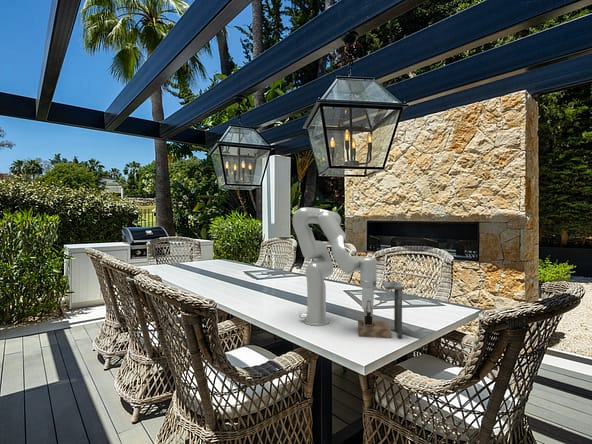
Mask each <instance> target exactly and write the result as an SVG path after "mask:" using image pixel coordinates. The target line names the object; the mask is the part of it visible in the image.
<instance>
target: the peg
mask: <svg viewBox="0 0 592 444" xmlns="http://www.w3.org/2000/svg"><path fill="white" fill-rule="evenodd" d="M366 309H367V308H366ZM370 309H371V308H370ZM363 320H364V326H373V321H374V309H373V310H372V325H366V324H365V309H364V310H363Z"/></svg>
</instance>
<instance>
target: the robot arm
mask: <svg viewBox="0 0 592 444" xmlns="http://www.w3.org/2000/svg"><path fill="white" fill-rule="evenodd" d="M341 223H342V218H341V216H340V214H339V213H337V212H336V211H331V210H327V209H323V208H319V207H307V206H306V207H305V206H304V207H300V208H299V209H297V210H296V211H295V212H294V214H293V216H292V226H293V230H294V232H295V235H296V237H297V240H298V244H299V247H300V250H301V253H302V256H303V258H304V259H306V260H313V261H311V262H310V263H308V264H307V266H306V268H305V278H306V289H307V290H306V292H307V293H306V294H307V296H306V297H307V298H306V301H307V302H306V303H307V304H306V305H307V306H306V307H307V312H305V313H301V312H300V313H299V312H298V313H299V314H298V317H299V318H300V319H304V320H303V321H304V322H303V323H304V324H306V325H308V326H314V327H322V326H326V325H328V324H329V322H330V321H329V319H328V318H327V317H326V316H327V315H326V314H327V312H326V311H327V310H326V309H327V308H326V305H327V302H326V301H327V300H326V299H327V298H326V296H327V294H326V293H327V292H326V291H327V290H326V289H327V287H326V283H325V279H326V278H328V277H330V276H331V275H333V273H334V264H333V261H332V258H331V255H330V252H329V250H328V247H327V245H326V244H325V243H324V242H323V241H321V240H316V238H315V236H314V234H313V233H314V232H313V231H312V229H311V228H310V226H309V224H310V225H311V224H316V225H319V227H320V228H321V230H322V232H323V233H324V235H325V236H326V238H327V240H328V241H329V243H330V250H331V254H332V257H333V259H334V261H335V263H336V264H337V266H338V267H339V268H340V270H341V271H342V272H343V273H345V274H352V273H355V272H359V287H360V288H361V309H362V310H363V311H364V309H365V324H366V325H372V310H373V311H374V302H375V294H374V293H375V289H376V288H377V277H378V276H377V274H378V273H377V270H378V268H377V264H378V263H377V259H376V257H369V256H367V257H366V256H359V255H349V253H348V251H347V249H346V247H345V239H346V233H345V231H344V230H343V228H342V227H341V226H340V225H341ZM366 308H367V309H366ZM370 308H371V309H370Z"/></svg>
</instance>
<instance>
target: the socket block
mask: <svg viewBox="0 0 592 444" xmlns="http://www.w3.org/2000/svg"><path fill="white" fill-rule="evenodd" d="M382 286H383V288H384V289H385V290H394V294H393V295H394V298H393V299H394V303H393V304H394V305H393V307H394V309H393V310H394V313H393V314H394V315H393V317H394V318H393V319H394V320H393V323H394V324H393V325H394V326H393V327H394V329H393V330H394V332H397V333H396V337H397V339H398V340H399V339H400V340H402V339H403V290H404V289H405V287H404V285H403V284H402V283H401V282H400V281H399V282H398V281H382ZM357 326H358V327H357V331H358V332H357V333H358V337H360V338H361V337H363V338H376V339H377V338H378V339H379V338H380V339H392V338H391V337H392V334H391V333H392V332H391V331H392V330H391V327H390V323H389V322H388V321H387V320H373V326H364V319H357Z"/></svg>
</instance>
